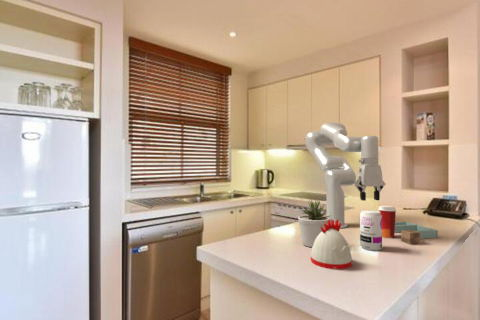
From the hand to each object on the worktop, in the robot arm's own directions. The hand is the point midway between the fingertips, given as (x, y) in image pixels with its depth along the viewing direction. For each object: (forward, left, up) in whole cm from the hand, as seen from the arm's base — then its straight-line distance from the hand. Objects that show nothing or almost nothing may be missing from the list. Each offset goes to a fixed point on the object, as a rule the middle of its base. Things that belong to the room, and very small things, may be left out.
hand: (369, 199), depth 131 cm
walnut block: (+12, -11, -18) cm, 24 cm away
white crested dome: (-34, -27, -18) cm, 47 cm away
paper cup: (+9, 0, -18) cm, 20 cm away
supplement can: (-10, -15, -18) cm, 25 cm away
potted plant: (-31, -7, -18) cm, 36 cm away
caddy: (+23, +4, -18) cm, 29 cm away
